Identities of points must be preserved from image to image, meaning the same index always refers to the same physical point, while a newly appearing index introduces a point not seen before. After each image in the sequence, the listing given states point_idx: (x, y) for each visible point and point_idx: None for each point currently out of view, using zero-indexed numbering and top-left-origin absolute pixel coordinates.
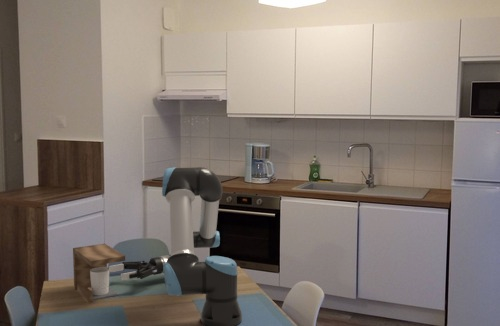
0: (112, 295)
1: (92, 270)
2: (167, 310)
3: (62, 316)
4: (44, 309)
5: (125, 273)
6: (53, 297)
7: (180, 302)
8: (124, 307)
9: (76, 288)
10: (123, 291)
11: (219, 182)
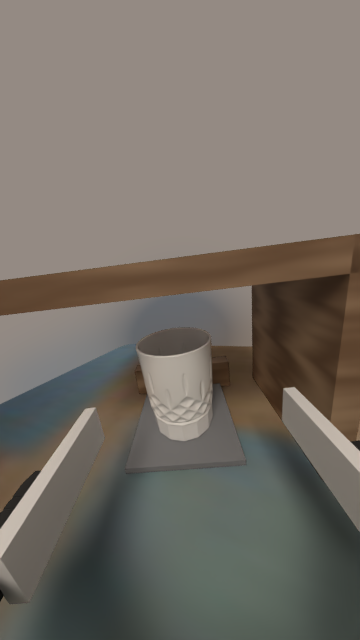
0: (131, 446)
1: (199, 335)
2: None
3: (117, 356)
4: None
5: (71, 431)
6: (215, 351)
7: None
8: (7, 455)
9: (253, 375)
10: (159, 535)
11: None
